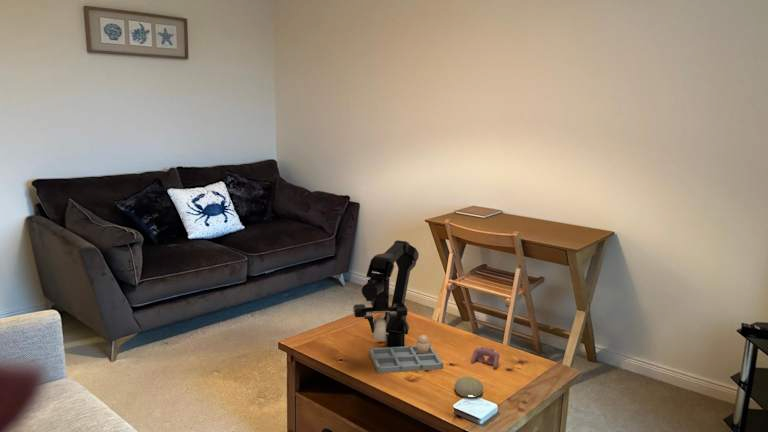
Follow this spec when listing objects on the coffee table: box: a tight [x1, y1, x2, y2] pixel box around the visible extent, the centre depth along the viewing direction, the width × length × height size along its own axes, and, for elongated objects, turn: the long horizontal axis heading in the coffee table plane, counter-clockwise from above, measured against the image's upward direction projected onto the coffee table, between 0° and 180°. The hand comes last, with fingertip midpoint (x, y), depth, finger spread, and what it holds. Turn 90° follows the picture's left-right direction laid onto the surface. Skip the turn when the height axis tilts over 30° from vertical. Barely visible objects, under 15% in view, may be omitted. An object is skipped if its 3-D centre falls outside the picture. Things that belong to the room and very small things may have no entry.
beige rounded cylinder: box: [416, 334, 430, 355], centre depth 221 cm, size 5×5×8 cm
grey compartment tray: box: [368, 344, 444, 374], centre depth 216 cm, size 24×16×2 cm
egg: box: [372, 316, 387, 342], centre depth 211 cm, size 5×5×8 cm
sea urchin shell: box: [454, 376, 484, 397], centre depth 196 cm, size 9×8×8 cm
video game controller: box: [470, 346, 501, 370], centre depth 217 cm, size 10×5×7 cm, turn 66°
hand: (379, 332), depth 211 cm, fingers closed on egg, 5 cm apart
